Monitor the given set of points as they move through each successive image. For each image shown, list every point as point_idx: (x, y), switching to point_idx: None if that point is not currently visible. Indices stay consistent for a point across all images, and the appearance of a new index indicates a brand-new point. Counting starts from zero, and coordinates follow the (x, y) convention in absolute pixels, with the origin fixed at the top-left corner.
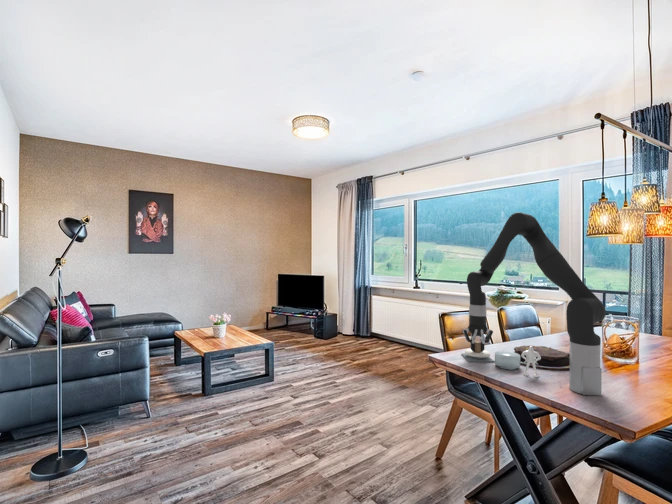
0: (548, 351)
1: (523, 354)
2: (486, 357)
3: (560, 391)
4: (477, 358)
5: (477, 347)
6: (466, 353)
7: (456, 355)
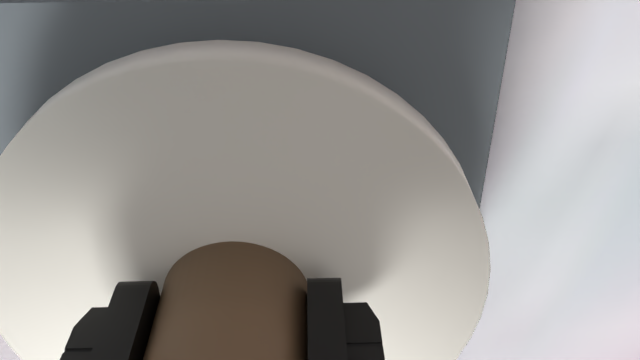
0: None
1: None
2: None
3: None
4: None
5: (241, 338)
6: (483, 233)
7: (538, 325)
